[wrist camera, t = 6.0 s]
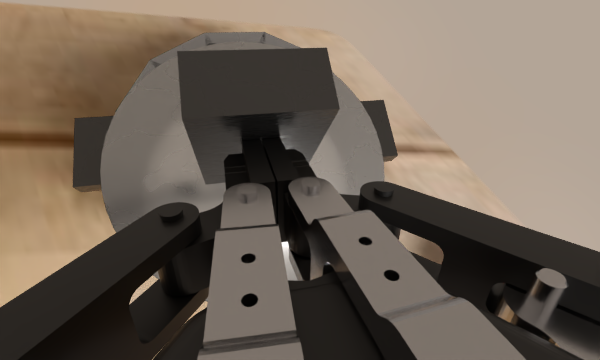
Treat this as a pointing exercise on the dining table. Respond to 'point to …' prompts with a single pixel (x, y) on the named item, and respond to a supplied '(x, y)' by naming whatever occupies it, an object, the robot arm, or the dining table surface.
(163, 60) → the pot
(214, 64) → the lid
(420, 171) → the dining table surface
